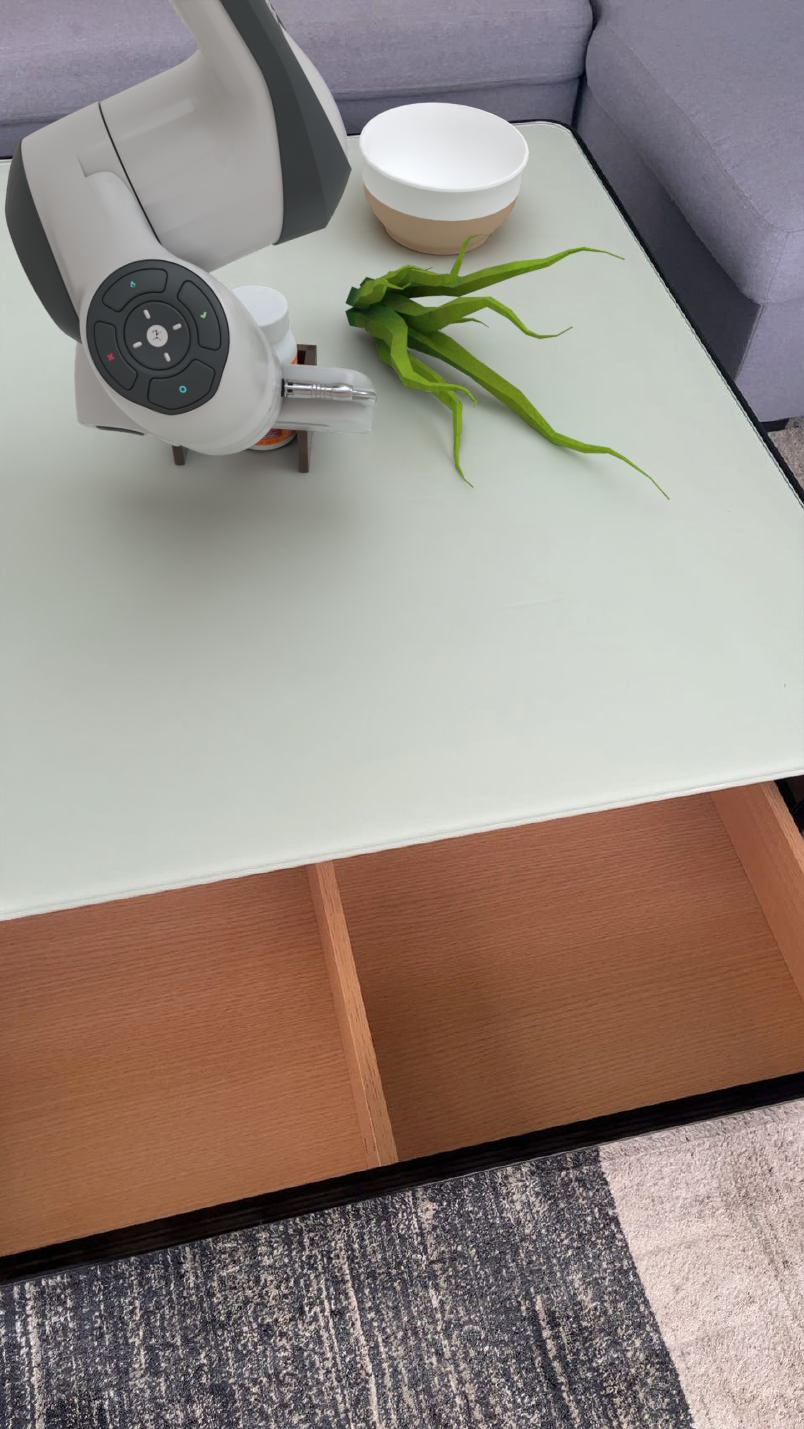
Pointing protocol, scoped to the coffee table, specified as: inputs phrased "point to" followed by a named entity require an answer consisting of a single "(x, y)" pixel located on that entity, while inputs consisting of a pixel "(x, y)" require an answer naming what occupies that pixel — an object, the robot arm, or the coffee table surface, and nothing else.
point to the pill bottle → (271, 342)
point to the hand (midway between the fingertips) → (243, 408)
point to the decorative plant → (415, 326)
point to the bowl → (441, 174)
